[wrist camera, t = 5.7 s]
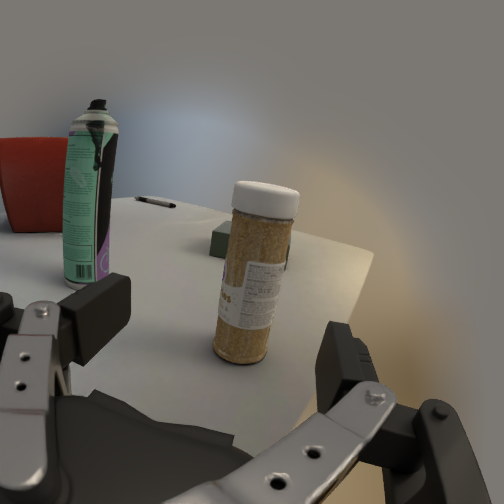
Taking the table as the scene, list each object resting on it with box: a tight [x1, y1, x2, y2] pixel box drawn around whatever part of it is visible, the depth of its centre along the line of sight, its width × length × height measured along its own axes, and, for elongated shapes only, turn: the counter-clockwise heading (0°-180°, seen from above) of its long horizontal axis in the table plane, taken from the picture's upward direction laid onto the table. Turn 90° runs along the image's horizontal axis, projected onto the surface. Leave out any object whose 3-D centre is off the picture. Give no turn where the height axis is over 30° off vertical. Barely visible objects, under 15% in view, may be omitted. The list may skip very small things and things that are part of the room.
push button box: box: [210, 221, 291, 270], centre depth 50 cm, size 12×10×6 cm
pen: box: [135, 196, 176, 208], centre depth 85 cm, size 1×16×1 cm, turn 68°
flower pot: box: [0, 137, 69, 232], centre depth 46 cm, size 19×19×17 cm
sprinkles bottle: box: [213, 181, 300, 364], centre depth 22 cm, size 5×5×13 cm
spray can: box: [63, 99, 119, 290], centre depth 28 cm, size 6×6×20 cm
